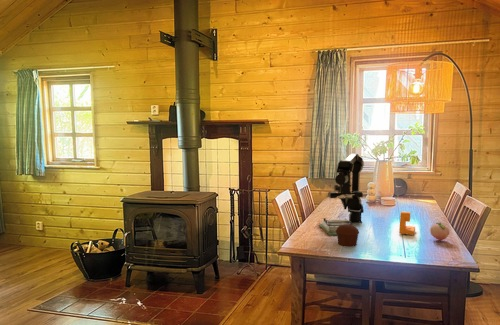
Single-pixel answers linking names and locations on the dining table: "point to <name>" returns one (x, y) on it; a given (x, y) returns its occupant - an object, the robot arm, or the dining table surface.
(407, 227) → the bracket
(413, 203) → the dining table surface
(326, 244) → the dining table surface
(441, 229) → the decorative fruit
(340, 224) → the strap
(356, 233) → the muffin
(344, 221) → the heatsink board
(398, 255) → the dining table surface
